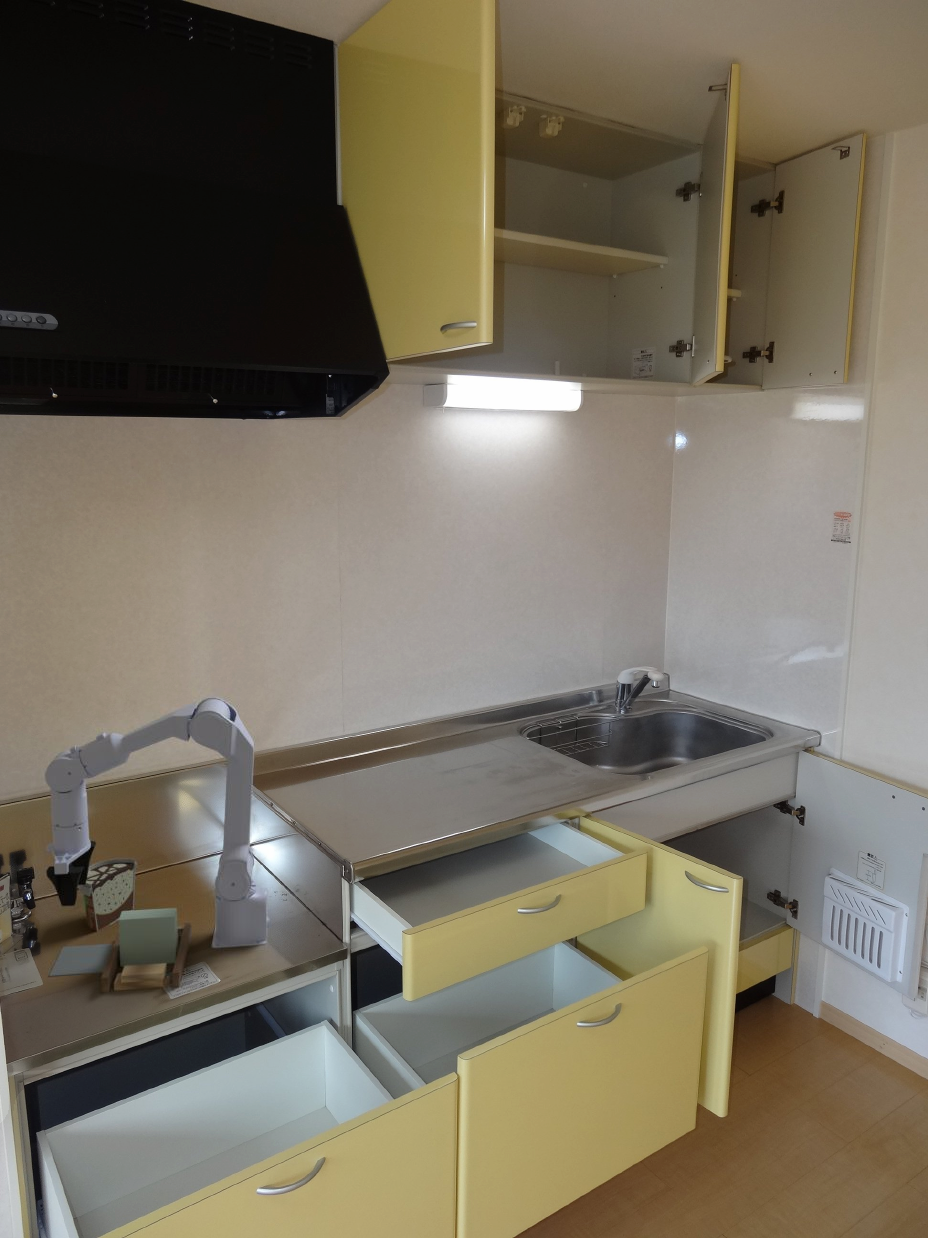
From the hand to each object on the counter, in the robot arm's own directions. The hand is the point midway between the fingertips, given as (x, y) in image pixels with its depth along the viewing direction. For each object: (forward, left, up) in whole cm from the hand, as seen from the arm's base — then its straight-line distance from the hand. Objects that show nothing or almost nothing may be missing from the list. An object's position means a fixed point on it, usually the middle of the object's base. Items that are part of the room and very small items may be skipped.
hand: (74, 894), depth 156 cm
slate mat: (-2, +5, -10) cm, 11 cm away
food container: (-2, -10, -10) cm, 15 cm away
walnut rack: (-13, +8, -10) cm, 18 cm away
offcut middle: (-13, +14, -10) cm, 21 cm away
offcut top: (-14, +13, -8) cm, 21 cm away
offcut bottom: (-13, +14, -11) cm, 22 cm away
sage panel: (-13, +6, -10) cm, 18 cm away
